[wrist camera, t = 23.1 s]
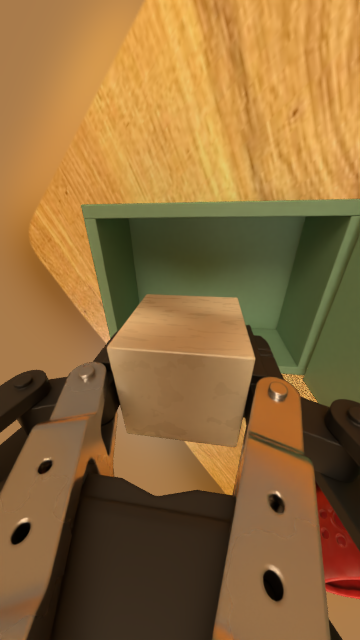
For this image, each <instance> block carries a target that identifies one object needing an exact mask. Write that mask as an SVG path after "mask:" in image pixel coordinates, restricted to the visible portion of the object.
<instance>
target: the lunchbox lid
mask: <svg viewBox="0 0 360 640" xmlns="http://www.w3.org/2000/svg"><path fill="white" fill-rule="evenodd" d="M303 381H304V382H305V384H306V385H307V387H308V388H309V390H310V391H311V393H312V394H313V396H314V397H315V399H316V400H317V402H318V403H319V404H322V405H325V406H328V407H330V405H331V403H332V402H333V401H335V400H338V399H347V400H352V401H355V402H358V403H360V235H359V238H358V240H357V243H356V245H355V248H354V250H353V253H352V256H351V258H350V261H349V263H348V266H347V268H346V271H345V273H344V276H343V278H342V281H341V284H340V286H339V289H338V291H337V294H336V296H335V299H334V301H333V304H332V307H331V309H330V312H329V314H328V317H327V319H326V322H325V324H324V327H323V329H322V332H321V335H320V337H319V340H318V342H317V345H316V347H315V350H314V352H313V355H312V358H311V360H310V363H309V365H308V368H307V370H306V373H305V375H304V378H303Z"/></svg>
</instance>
